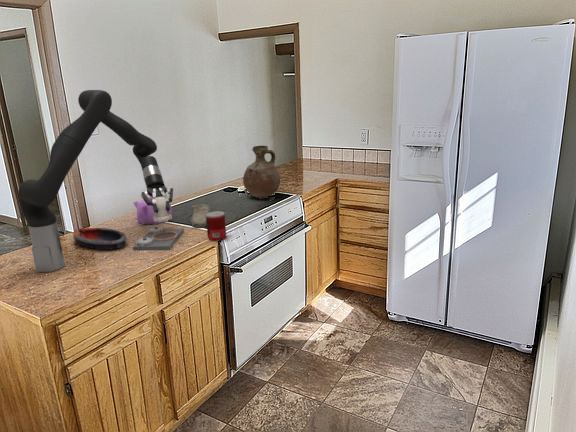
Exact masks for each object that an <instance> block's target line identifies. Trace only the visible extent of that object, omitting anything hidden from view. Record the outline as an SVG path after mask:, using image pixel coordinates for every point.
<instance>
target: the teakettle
mask: <svg viewBox="0 0 576 432" xmlns="http://www.w3.org/2000/svg"><path fill="white" fill-rule="evenodd" d="M148 198H149V200H150V201H152V197H151V196H149V197H148ZM155 203H156V202H155ZM169 204H170V210H169V211H168V212H167V214H171V215H172V214H173V211H172V204H171V202H170V203H169ZM133 205H134V207H135V208H136V219H137V220H136V221H137V223H138V224H140V223H144V224H143V225H150V224H157V225H160V224H162V223H164V221H162V223H161V222H159V221H154V220H153V216H156V215H157V213H156V212H154V210H153V207H152V206H151V205H150V206H148V205H147V204H146V202H145V201H144V200H143V199H142V200H141V201H139V202H138V201H134V202H133ZM159 223H160V224H159Z"/></svg>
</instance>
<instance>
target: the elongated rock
mask: <svg viewBox="0 0 576 432" xmlns="http://www.w3.org/2000/svg"><path fill="white" fill-rule="evenodd" d="M191 210H192V216H191V220H190V222H191V225H192V227H193V228H195V229H202V228H203V229H204V228H205V227H207V222H206V214H207V213H209V212H212V208H211V207H210V206H209V205H208V204H206V203H204V204H203V203H200V204H198V203H196V204H193V205H191Z"/></svg>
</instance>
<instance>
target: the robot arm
mask: <svg viewBox="0 0 576 432" xmlns="http://www.w3.org/2000/svg"><path fill="white" fill-rule="evenodd" d="M77 100H78V101H77V102H78V105H79V107H80V108H81V110H82V111H83V113H82V114H81V115H80V116H79V117H78V118H76V119H75V120H74V121H73V122H71V123H70V124H69V125H67V126H66V127H65V128H64V129H62V131H61V132H60V134H59V135H58V136H57V138H56V139H55V140H54V142H53V143H52V146H51V149H50V155H49V163H48V165H47V168H46V169H45V171H44V172H43V174H42V175H41V176H40V178H39V179H27V180H24V181H23V182H21V184H20V185H19V188H18V192H17V193H18V201H19V204H20V208H21V212H22V215H23V217H24V219H25V221H26V223H27V227H28V232H29V236H30V240H31V246H32V247H31V253H32V257H33V262H34V267H35V271H36V273H53V272H55V271H57V270H60V269H62V268H64V267H65V266H66V262H65V258H64V253H63V247H62V241H61V237H60V231H59V226H58V222H57V221H58V220H57V216H56V213H54V212H53V211H52V210H51V209H50V208H49V206H50V205H51V204H52V203H53V202H54V201H55V199H56V197H57V196H58V193H59V191H60V189H61V187H62V186H63V182H64V181H65V178H66V177H67V175H68V174H69V172H70V171H71V169H72V167H73V165H74V164H75V162H76V160H77V159H78V158H79V156H80V154H81V153H82V152H83V149H85V146H86V145H87V143H88V142H89V139H90V138H91V137H92V135H93V134H94V132H95V130H96V128H97V127H98V126H99V125H100V124H101V123H102V124H103V125H105V126H106V128H107V127H108V129H109V130H111V131H112V132H114V133H115V134H116V135H117V136H118V137H119V138H120V139H122V140H123V141H124V142H125V143H126V144H128V145H129V146H131V147H132V146H133V147H132V153H133V155H134V156H135V157H136V159H137V161H138V163H139V164H140V167H141V170H142V177H143V181H144V184H145V186H146V191H142V192H141V195H140V196H141V199H142V201H143V200H144V201H145V202H146V204H147V205H148V206H150V205H151V206H152V207H153V210H154V212H156V213H158V209H157V205H156V203H155V198H156V197H165V199H166V207H167V212H168V211H169V210H170V204H171V203H172V202H173V198H174V187H171V188H167V187H166V185H165V181H164V179H163V174H162V172H161V169H160V168H159V164H158V161H157V158H156V157H155V156H152V154H154V153H156V152H157V151H158V145H157V143H156V142H155V141H154V140H153V139H152V138H151V137H149V136H147V135H145V134H143V133H141V132H139V131H138V130H137V129H136V128H135V127H134V126H133V125H132V124H131V123H129V122H128V121H126V120H125V119H124V118H122V117H120V116H118V115H116V114H115V113H113V112H112V111H111V109H112V106H113V105H112V102H113V100H112V96H111V95H110V93H109V92H107V91H105V90H101V89H88V90H87V89H86V90H83V91H82V92H80V93H79V95H78V99H77ZM166 193H167V194H168V195H169V196H168V197H169V198H168V197H167V194H166ZM148 196H149V197H150V196H151V197H152V201H150V200H149V197H148ZM169 203H170V204H169Z"/></svg>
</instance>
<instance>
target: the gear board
mask: <svg viewBox="0 0 576 432" xmlns="http://www.w3.org/2000/svg"><path fill="white" fill-rule="evenodd" d="M147 231H148V232H147V233H146V234H145V235H144V236H142V237H141V238H138V239H137V240H136V241H135V245H133V246H132V249H133V250H132V251H162V250H163V251H168V250H169V251H170V250H171V249H172V248H173V246H174V245H175V244H176V242H177V241H178V240H179V239H180V238H181V236H182V235H183V233H185V228H165V226H159V225H156V226H153V227H149V229H147Z"/></svg>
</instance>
